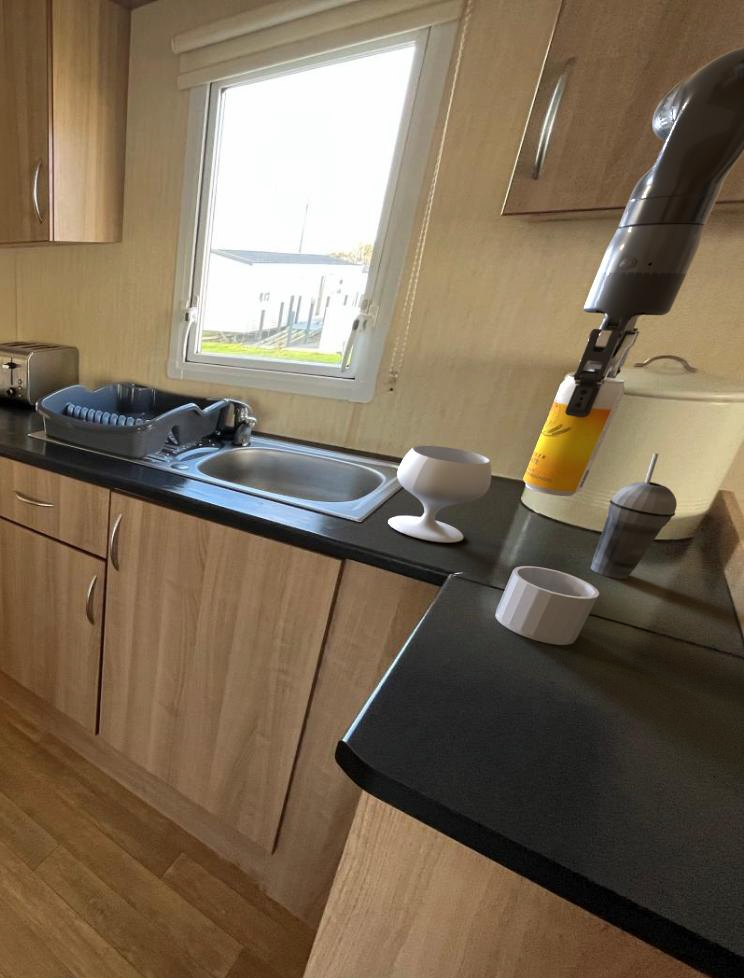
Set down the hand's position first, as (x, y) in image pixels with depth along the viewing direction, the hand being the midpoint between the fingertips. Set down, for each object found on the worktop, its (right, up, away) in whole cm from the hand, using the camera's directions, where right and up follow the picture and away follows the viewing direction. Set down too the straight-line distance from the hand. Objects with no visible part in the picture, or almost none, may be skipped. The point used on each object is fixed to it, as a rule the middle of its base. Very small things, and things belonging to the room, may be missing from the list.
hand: (581, 412), depth 71 cm
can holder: (-3, -28, +4) cm, 29 cm away
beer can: (0, -10, +4) cm, 11 cm away
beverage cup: (+23, -23, +19) cm, 38 cm away
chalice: (+3, -16, +33) cm, 37 cm away
